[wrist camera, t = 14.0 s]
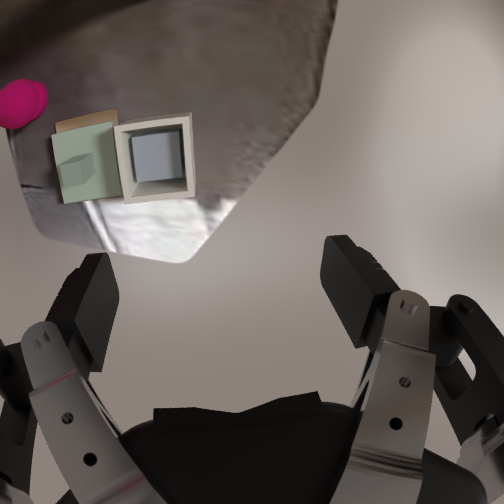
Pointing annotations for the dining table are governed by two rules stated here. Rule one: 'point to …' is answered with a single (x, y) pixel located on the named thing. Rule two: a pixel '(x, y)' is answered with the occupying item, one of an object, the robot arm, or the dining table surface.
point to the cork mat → (86, 121)
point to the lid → (87, 162)
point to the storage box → (156, 157)
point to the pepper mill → (21, 103)
